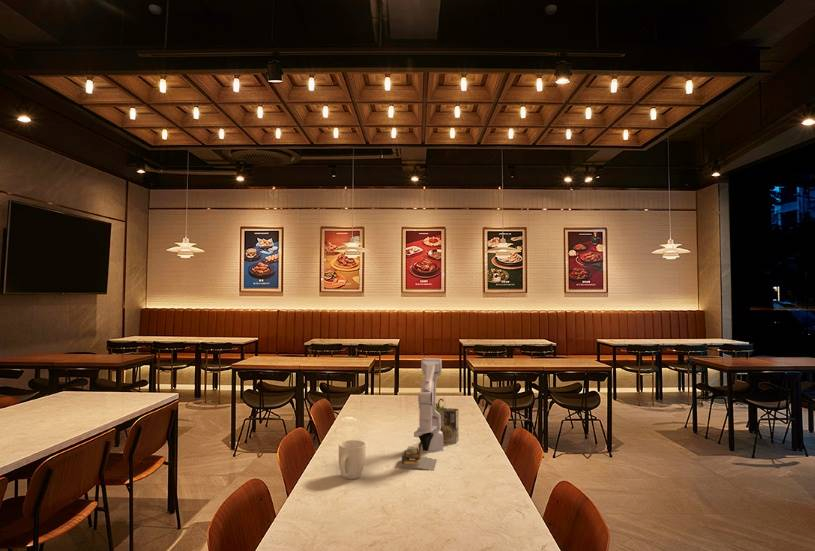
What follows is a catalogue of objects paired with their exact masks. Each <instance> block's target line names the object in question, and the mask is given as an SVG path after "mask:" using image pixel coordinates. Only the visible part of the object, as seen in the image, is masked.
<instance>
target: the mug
mask: <svg viewBox="0 0 815 551" xmlns="http://www.w3.org/2000/svg"><path fill="white" fill-rule="evenodd" d="M366 451H367V450H366V442H365V441H364V440H359V439H348V440H343V441H341V442H340V443H338V464H339V465H338V466H339V470H340V475H341V476H343V478H344V479H346V480H356V479H358V478H360V477H361V475H362V473H363V471H364V467H365V465H366Z"/></svg>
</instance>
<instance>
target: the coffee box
mask: <svg viewBox="0 0 815 551" xmlns="http://www.w3.org/2000/svg"><path fill="white" fill-rule="evenodd" d="M439 414H440V415H441V431H442V433H443V443H451V444H457V443H458V442H457V441H459V431H460V430H459V409H458V408H451V407H444V408H441V410H439Z"/></svg>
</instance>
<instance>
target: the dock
mask: <svg viewBox="0 0 815 551" xmlns="http://www.w3.org/2000/svg"><path fill="white" fill-rule="evenodd" d="M406 453H407V449H404V452H403V453H402V455H401V461H400V463H399V465H398V468H399V469H404V470H406V469H407V470H418V471H419V470H420V471H431V472H432V471H435V468H436V465H437V460H438V459H437V458H432V457H428V456H422V455H421V456H420V457H419V460H416V459H415V458H416V457H410V459H409V460H407V459H406Z"/></svg>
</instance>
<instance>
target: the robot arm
mask: <svg viewBox="0 0 815 551" xmlns="http://www.w3.org/2000/svg"><path fill="white" fill-rule="evenodd" d="M442 361H443V360H442V358H441V357H440V358H435V357H433V358H432V357H422V358H421V362H420V363H421V365H420V369H421V372H422V375H424V379H423V380H422V381H421V387H420V392H418V395H417V396H418V397H417V399H418V409H419V414H418V415H419V416H418V417H419V418H418V420H419V421H418V422H419V424H418V425H419V427H417V429H416V430H415V431H414V432H413V437H414V438H418V439H419V440H420V441H421V444H422V452H425V453H426V454H427V453H436V452H444V451H445V449H444V442H443V433H442V431H441V415H440V414H439V413H438V412H437V411H436V410H435V408H436V404H437V402H436V401H437V380H438V377H439V376H441V375H442V368H443V367H442V364H443V363H442ZM432 416H436V417H432ZM420 441H419V442H420Z"/></svg>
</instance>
